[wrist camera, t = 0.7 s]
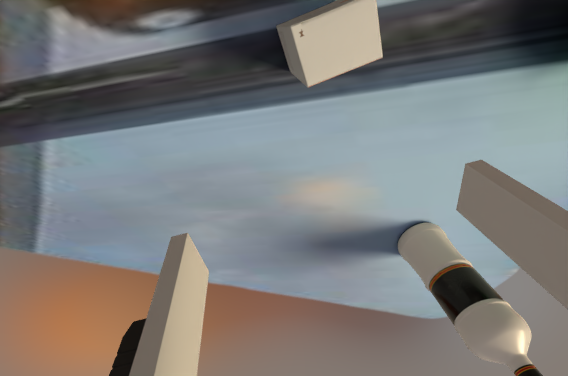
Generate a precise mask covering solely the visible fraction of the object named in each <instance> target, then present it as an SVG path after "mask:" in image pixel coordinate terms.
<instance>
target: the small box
mask: <svg viewBox="0 0 568 376" xmlns="http://www.w3.org/2000/svg"><path fill="white" fill-rule="evenodd" d="M276 28H277V31H278V34H279V37H280V40H281V44H282V47H283V50H284V53H285V57H286V60H287V63H288V66H289V70H290V72H291V73H292V74H293V75H295V76H296V77H297V78H298V79H299V80H300V81H301V82H302V83H304V84H305V85H306V86H307V87H310V86H313V85H315V84H318V83H320V82H323V81H325V80H328V79H330V78H333V77H335V76H338V75H340V74H343V73H345V72H348V71H350V70H353V69H355V68H358V67H360V66H363V65H365V64H368V63H370V62H373V61H375V60H378V59H381V58H382V57H383V55H382V47H381V38H380V30H379V21H378V12H377V4H376V0H337V1H335V2H332V3H330V4H327V5H325V6H323V7H320V8H318V9H316V10H313V11H311V12H308V13H306V14H303V15H301V16H299V17H296V18H294V19H291V20H289V21H287V22H284V23H282V24H279V25H277V26H276Z"/></svg>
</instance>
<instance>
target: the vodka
mask: <svg viewBox="0 0 568 376" xmlns="http://www.w3.org/2000/svg"><path fill="white" fill-rule="evenodd" d="M398 251H399V253H400V255H401V256H402V257H403V259H404V260H405V261H407V262H408V263H409V264H410V265H411V266H412V268H413V269H414V270H415V271H416V273H417V274H418V275H419V276H420V278H421V279H422V281H423V282H424V284H425V287H426V288H427V289H428V290H429V291H430V292H431V293H432V294H433V296H434V297H435V298H436V300H437V301H438V303H439V304H440V306H441V307H442V309H443V310H444V311H445V313H446V314H447V316H448V317H449V319H450V320H451V321H452V323H453V324H454V326H455V329H456V331H457V332H458V333H459V334H460V335H461V337H462V339H463V341H464V343H465V344H466V346H467V347H468V349H469V350H470V351H471V352H472V353H474V354H475V355H476V356H477V357H479V358H481V359H483V360H487V361H491V362H496V363H501V364H506V365H507V366H508V367H509V368H510V369H511V371H512V372H513V373H514V374H515V375H516V376H543V375H542V374H541V373H540V372H539V371H538V370H537V369H536V367H535V366H534V365H533V364H532V362H531V361H530V360H529V359H528V357H527V351H528V348H529V344H530V341H531V330H530V328H529V326H528V325H527V323H526V321H525V320H524V319H523V318H522V317H521V316H520V315H519V314H518V313H517V312H515V311H514V310H513V309H512V308H511V306H510V305H509V303H507V302H506V301H504V300H503V299H502V298H501V297H500V296H499V294H497V292H496V291H495V290H494V289H493V288H492V287H491V286H490V285H489V284H488V283H487V282H486V281H485V280H484V278H483V277H482V276H481V275H480V274H479V273H478V272H477V271H476V270H475V269H474V268H473V266H472V264H471V263H470V262H469V261H468V260H466V259H465V258H464V257H463V256H462V255H461V254H460V253H459V252H458V251H457V249H456V248H455V247H454V246H453V244H452V243H451V242H450V240H449V239H448V238H447V235H446V233H445V232H444V231H443V230H442V229H441V228H440V227H439V226H438V225H435V224H433V223H420V224H417V225H415V226H413V227H411V228H409V229H408V230H406V231H405V232H404V233H403V234H402V236H401V237H400V239H399V241H398Z"/></svg>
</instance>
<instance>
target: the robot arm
mask: <svg viewBox="0 0 568 376" xmlns="http://www.w3.org/2000/svg"><path fill="white" fill-rule="evenodd" d="M456 210H457V211H458V212H459V213H460V214H462V215H463V216H464V217H465V218H466V219H467V220H468V221H469V222H471V223H472V224H473V225H474V226H475V227H476V228H477V229H478V230H479V231H481V232H482V233H483V234H484V235H485V236H486V237H487V238H488V239H490V240H491V241H492V242H493V243H494V244H495V245H496V246H497V247H498V248H500V249H501V250H502V251H503V252H504V253H505V254H506V255H507V256H508V257H510V258H511V259H512V260H513V261H514V262H515V263H516V264H517V265H519V266H520V267H521V268H522V269H523V270H524V271H525V272H526V273H527V274H529V275H530V276H531V277H532V278H533V279H534V280H535V281H536V282H537V283H539V284H540V285H541V286H542V287H543V288H544V289H545V290H547V291H548V292H549V293H550V294H551V295H552V296H553V297H554V298H555V299H556V300H558V301H559V302H560V303H561V304H562V305H563V306H564V307H565V308H567V309H568V211H567V210H565V209H563V208H562V207H560V206H558V205H557V204H555V203H553V202H552V201H550V200H548V199H546V198H545V197H543V196H541V195H540V194H538V193H536V192H535V191H533V190H531V189H530V188H528V187H526V186H525V185H523V184H521V183H520V182H518V181H516V180H515V179H513V178H511V177H510V176H508V175H506V174H505V173H503V172H501V171H500V170H498V169H496V168H495V167H493V166H491V165H489V164H488V163H486V162H484V161H483V160H479V161H475V162H471V163H467V164H465V169H464V174H463V179H462V184H461V189H460V194H459V199H458V204H457V209H456ZM208 275H209V271H208V269H207V267H206V265H205V264H204V262H203V260H202V258H201V256H200V254H199V253H198V251H197V249H196V247H195V245H194V244H193V242H192V240H191V238H190V236H189V234H188V233H185V234H181V235H177V236H173V237H171V240H170V243H169V246H168V250H167V253H166V256H165V260H164V263H163V266H162V269H161V273H160V276H159V279H158V282H157V286H156V289H155V292H154V296H153V299H152V302H151V305H150V309H149V312H148V315H147V318H146V319H143V320H138V321H134V322H133V323H132V325H131V326H130V327H129V329H128V331H127V332H126V333H125V335H124V336H123V338H122V341H121V344H120V347H119V349H118V352H117V356H116V358H115V360H114V363H113V366H112V367H113V369H112V370H111V372H110V374H109V376H197V368H198V360H199V350H200V343H201V334H202V326H203V317H204V309H205V300H206V292H207V283H208Z"/></svg>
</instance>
